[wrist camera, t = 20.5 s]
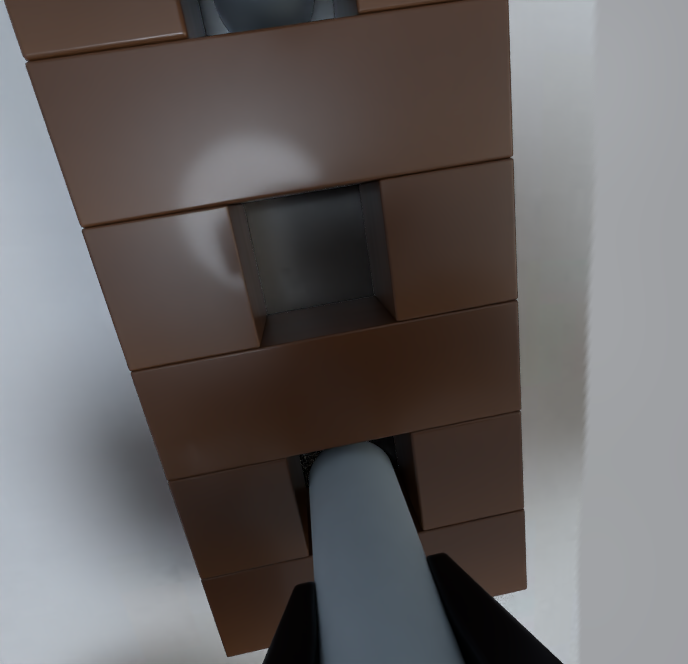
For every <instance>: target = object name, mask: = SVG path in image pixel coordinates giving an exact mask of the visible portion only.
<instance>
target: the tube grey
mask: <svg viewBox="0 0 688 664" xmlns="http://www.w3.org/2000/svg"><path fill="white" fill-rule="evenodd" d="M309 495H310V513H311V531H312V549H313V567H314V582H315V588H316V606H317V623H318V640H319V664H466V662H465V660H464V657H463V654H462V652H461V649H460V646H459V644H458V641H457V638H456V636H455V633H454V631H453V628H452V626H451V623H450V621H449V618H448V616H447V613H446V610H445V608H444V605H443V602H442V599H441V597H440V594H439V591H438V589H437V586H436V583H435V581H434V578H433V575H432V573H431V570H430V567H429V564H428V562H427V559H426V555H425V552H424V550H423V547H422V544H421V542H420V539H419V536H418V534H417V531H416V528H415V526H414V523H413V520H412V518H411V515H410V512H409V510H408V507H407V504H406V501H405V499H404V496H403V493H402V491H401V488H400V485H399V483H398V480H397V477H396V475H395V472H394V469H393V467H392V464H391V461H390V459H389V457H388V456H387V454H386V453H385V452H384V451H383V450H382V449H381V448H379V447H378V446H376V445H374V444H372V443H370V442H367V441H365V442H360V443H355V444H350V445H345V446H340V447H335V448H330V449H325V450H323V451H322V452H321V453H320V454H319V455H318V457H317V458H316V459H315V461H314V462H313V464H312V466H311V469H310V472H309Z"/></svg>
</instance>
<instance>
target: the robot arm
mask: <svg viewBox="0 0 688 664" xmlns="http://www.w3.org/2000/svg"><path fill="white" fill-rule="evenodd" d="M426 559H427V562H428V564H429V567H430V570H431V573H432V575H433V578H434V581H435V583H436V586H437V589H438V591H439V594H440V597H441V599H442V602H443V605H444V608H445V610H446V613H447V616H448V618H449V621H450V623H451V626H452V628H453V631H454V633H455V636H456V638H457V641H458V644H459V646H460V649H461V652H462V654H463V657H464V660H465V662H466V664H563V663H562V662H561V661H560V660H559V659H558V658H557V657H555V656H554V655H553V654H552V653H551V652H550V651H549V650H548V649H547V648H546V647H545V646H544V645H543V644H542V643H541V642H540V641H539V640H537V639H536V638H535V637H534V636H533V635H532V634H531V633H530V632H529V631H528V630H527V629H526V628H525V627H524V626H523V625H522V624H521V623H519V622H518V621H517V620H516V619H515V618H514V617H513V616H512V615H511V614H510V613H509V612H508V611H507V610H506V609H505V608H504V607H502V606H501V605H500V604H499V603H498V602H497V601H496V600H495V599H494V598H493V597H492V596H491V595H490V594H489V593H488V592H487V591H486V590H484V589H483V588H482V587H481V586H480V585H479V584H478V583H477V582H476V581H475V580H474V579H473V578H472V577H471V576H470V575H469V574H468V573H466V572H465V571H464V570H463V569H462V568H461V567H460V566H459V565H458V564H457V563H456V562H455V561H454V560H453V559H452V558H451V557H449V556H448V555H447V554H446V553H437V554H433V555H429V556H427V558H426ZM262 664H319V640H318V623H317V606H316V588H315V582H313V581H310V582H306V583H301V584H297V585H296V586H295V587H294V589H293V591H292V594H291V596H290V598H289V601H288V603H287V606H286V608H285V610H284V613H283V615H282V618H281V620H280V622H279V625H278V627H277V630H276V632H275V634H274V637H273V639H272V642H271V644H270V647H269V649H268V651H267V654H266V656H265V659H264V661H263V663H262Z"/></svg>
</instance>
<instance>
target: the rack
mask: <svg viewBox="0 0 688 664" xmlns="http://www.w3.org/2000/svg"><path fill="white" fill-rule="evenodd" d="M4 2H5V5H6V8H7V11H8V14H9V17H10V20H11V23H12V26H13V29H14V32H15V35H16V38H17V40H18V43H19V46H20V49H21V52H22V55H23V57H24V58H25V60H26V61H28V62H27V63H26V68H27V71H28V74H29V77H30V80H31V83H32V86H33V89H34V92H35V95H36V98H37V100H38V103H39V106H40V109H41V112H42V115H43V118H44V121H45V124H46V127H47V130H48V133H49V136H50V139H51V141H52V144H53V147H54V150H55V153H56V156H57V159H58V162H59V165H60V168H61V171H62V174H63V177H64V179H65V182H66V185H67V188H68V191H69V194H70V197H71V200H72V203H73V206H74V209H75V212H76V215H77V218H78V220H79V223H80V225H81V227H83V229H82V233H83V236H84V239H85V242H86V245H87V248H88V251H89V254H90V257H91V260H92V263H93V266H94V269H95V271H96V274H97V277H98V280H99V283H100V286H101V289H102V292H103V295H104V298H105V301H106V304H107V307H108V309H109V312H110V315H111V318H112V321H113V324H114V327H115V330H116V333H117V336H118V339H119V342H120V345H121V347H122V350H123V353H124V356H125V359H126V362H127V365H128V368H129V370H130V371H131V376H132V379H133V382H134V385H135V388H136V391H137V394H138V397H139V400H140V403H141V406H142V409H143V412H144V414H145V417H146V420H147V423H148V426H149V429H150V432H151V435H152V438H153V441H154V444H155V447H156V450H157V452H158V455H159V458H160V461H161V464H162V467H163V470H164V473H165V476H166V479H167V481H168V485H169V488H170V491H171V494H172V497H173V499H174V502H175V505H176V508H177V511H178V514H179V517H180V520H181V523H182V526H183V529H184V532H185V535H186V537H187V540H188V543H189V546H190V549H191V552H192V555H193V558H194V561H195V564H196V567H197V570H198V573H199V575H200V578H201V582H202V585H203V588H204V591H205V593H206V596H207V599H208V602H209V605H210V608H211V611H212V614H213V617H214V620H215V623H216V626H217V629H218V631H219V634H220V637H221V640H222V643H223V646H224V649H225V652H226V655H227V657H231V656H235V655H240V654H244V653H248V652H253V651H257V650H262V649H266V648H269V647H270V644H271V642H272V639H273V637H274V634H275V632H276V630H277V627H278V625H279V622H280V620H281V618H282V615H283V613H284V610H285V608H286V606H287V603H288V601H289V598H290V596H291V594H292V591H293V589H294V587H295V586H296V585H297V584H301V583H306V582H310V581H313V582H314V567H313V549H312V531H311V513H310V495H309V487H308V488H306V484H305V479H304V475H303V470H302V466H301V461H300V457H299V455H300V454H305V453H310V452H315V451H320V450H325V449H330V448H335V447H340V446H345V445H350V444H355V443H360V442H365V441H370V440H375V439H380V438H385V437H389V436H394V442H395V450H396V457H397V464H398V469H395V470H394V472H395V475H396V477H397V480H398V483H399V485H400V488H401V491H402V493H403V496H404V499H405V501H406V504H407V507H408V510H409V512H410V515H411V518H412V520H413V523H414V526H415V528H416V531H417V534H418V536H419V539H420V542H421V544H422V547H423V550H424V552H425V555H426V558H427V556H429V555H433V554H437V553H446V554H447V555H448V556H449V557H451V558H452V559H453V560H454V561H455V562H456V563H457V564H458V565H459V566H460V567H461V568H462V569H463V570H464V571H465V572H466V573H468V574H469V575H470V576H471V577H472V578H473V579H474V580H475V581H476V582H477V583H478V584H479V585H480V586H481V587H482V588H483V589H484V590H486V591H487V592H488V593H489V594H490V595H491V596H492V597H494V596H498V595H503V594H507V593H512V592H516V591H520V590H525V589H527V575H526V543H525V511H524V509H523V508H524V495H523V462H522V430H521V412H520V410H521V385H520V353H519V320H518V301H517V300H515V299H517V298H518V291H517V259H516V227H515V194H514V162H513V159H512V158H510V157H512V156H513V134H512V102H511V69H510V37H509V5H508V0H333V4H334V11H335V18H333V19H326V20H319V21H312V22H304V23H297V24H290V25H283V26H276V27H269V28H262V29H255V30H248V31H241V32H234V33H227V34H220V35H213V36H206V34H205V29H204V25H203V20H202V16H201V11H200V7H199V2H198V0H4ZM356 184H360V185H359V191H360V198H361V205H362V212H363V220H364V227H365V234H366V241H367V248H368V256H369V263H370V270H371V277H372V284H373V292H374V295H375V296H370V297H365V298H359V299H354V300H348V301H343V302H337V303H332V304H326V305H321V306H315V307H310V308H304V309H299V310H293V311H288V312H282V313H277V314H271V315H267V314H268V313H267V308H266V303H265V299H264V294H263V290H262V285H261V281H260V276H259V272H258V267H257V263H256V258H255V254H254V249H253V245H252V240H251V236H250V231H249V227H248V222H247V218H246V213H245V209H244V205H243V204H241V203H247V202H253V201H259V200H265V199H271V198H277V197H284V196H290V195H296V194H302V193H308V192H314V191H320V190H326V189H332V188H338V187H344V186H350V185H356Z"/></svg>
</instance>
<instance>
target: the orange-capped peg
mask: <svg viewBox="0 0 688 664" xmlns="http://www.w3.org/2000/svg"><path fill="white" fill-rule="evenodd" d="M213 2H214V4H215V7H216V9H217V12H218V14H219V16H220V18H221V20H222V22H223V23H224V25H225V26H226V28H227V29H228V31H229V32H230V33H234V32H241V31H248V30H255V29H262V28H269V27H276V26H283V25H290V24H297V23H304V22H309V21H310V18H311V15H312V11H313V6H314V0H213Z"/></svg>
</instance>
